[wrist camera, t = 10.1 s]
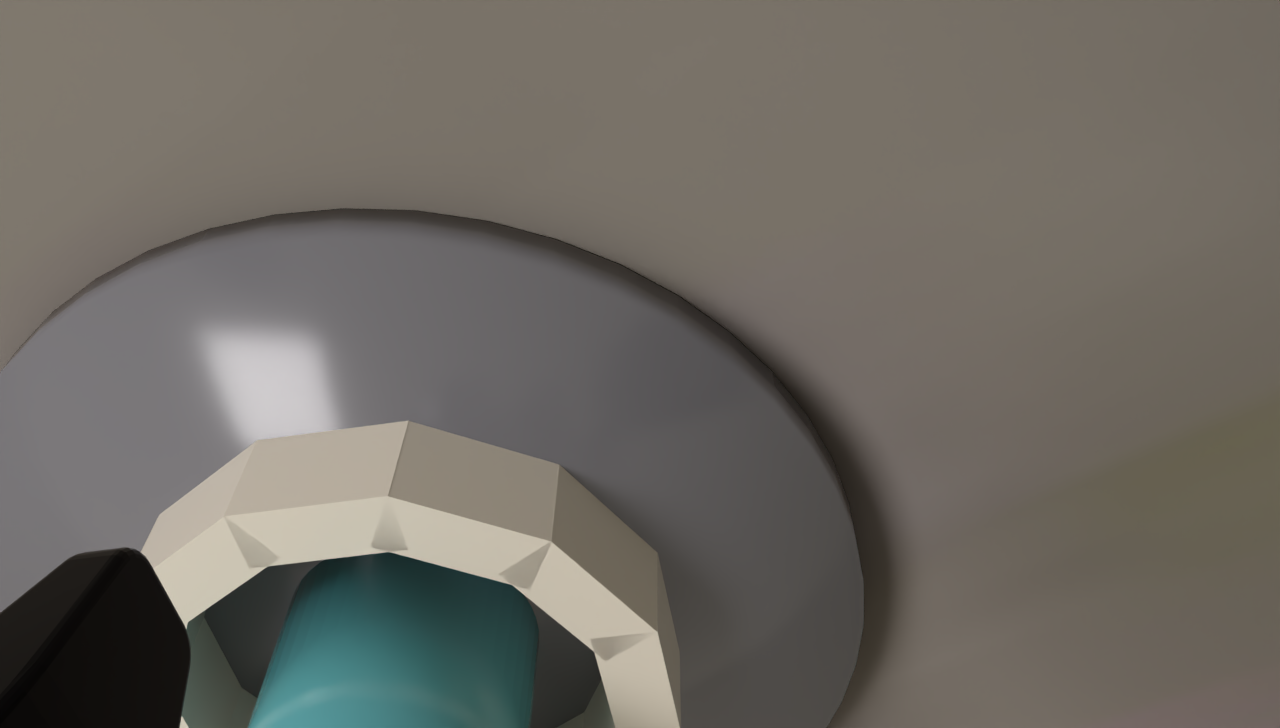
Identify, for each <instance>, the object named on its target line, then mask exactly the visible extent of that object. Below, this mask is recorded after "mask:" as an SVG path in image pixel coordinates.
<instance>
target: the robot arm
mask: <svg viewBox="0 0 1280 728" xmlns="http://www.w3.org/2000/svg"><path fill="white" fill-rule="evenodd" d="M190 664H191V647H190V640H189V636H188V633H187V630H186V628H185V625H184V623H183V621H182V620H181V618H180V616H179V614H178V612H177V611H176V609H175V607H174V605H173V603H172V602H171V600H170V598H169V596H168V594H167V593H166V591H165V589H164V587H163V585H162V583H161V582H160V580H159V578H158V576H157V574H156V573H155V571H154V569H153V567H152V565H151V564H150V562H149V561H148V559H147V558H146V556H145V555H143V554H142V553H141V552H140V551H138V550H136V549H133V548H128V547H122V548H114V549H106V550H98V551H90V552H84V553H80V554H76V555H74V556H72V557H70V558H68V559H67V560H66V561H64V562H63V563H62V564H61V565H59V566H58V567H57V568H56V569H54V570H53V571H52V572H51V573H49V574H48V575H47V576H46V577H44V578H43V579H42V580H41V581H39V582H38V583H37V584H36V585H34V586H33V587H32V588H31V589H29V590H28V591H27V592H26V593H24V594H23V595H22V596H21V597H19V598H18V599H17V600H16V601H14V602H13V603H12V604H11V605H9V606H8V607H7V608H6V609H4V610H3V611H2V612H1V613H0V728H180V723H181V717H182V711H183V705H184V700H185V694H186V688H187V683H188V677H189V671H190Z"/></svg>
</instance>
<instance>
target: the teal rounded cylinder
mask: <svg viewBox="0 0 1280 728" xmlns="http://www.w3.org/2000/svg"><path fill="white" fill-rule="evenodd" d="M538 649H539V628H538V624H537V619H536V616H535V614H534V612H533V609H532V607H531V605H530V604H529V602H528V600H527V599H526V597H525V596H524V594H522V593H521V592H520V591H519V590H518V589H516V588H515V587H514V586H513V585H510V584H507V583H503V582H499V581H496V580H492V579H488V578H484V577H481V576H477V575H473V574H469V573H466V572H462V571H458V570H455V569H451V568H447V567H443V566H440V565H436V564H432V563H428V562H425V561H421V560H417V559H414V558H410V557H406V556H402V555H399V554H395V553H391V552H385V553H376V554H368V555H359V556H351V557H342V558H334V559H326V560H323V561H321V562H320V563H319V564H317V565H316V566H315V567H314V568H312V569H311V570H310V571H309V572H308V573H307V574H306V575H305V577H304V578H303V579H302V580H301V581H300V583H299V585H298V586H297V588H296V590H295V592H294V594H293V597H292V599H291V602H290V605H289V608H288V611H287V614H286V617H285V620H284V623H283V625H282V628H281V631H280V634H279V637H278V640H277V643H276V646H275V649H274V652H273V655H272V658H271V661H270V663H269V666H268V669H267V672H266V675H265V678H264V681H263V684H262V687H261V690H260V693H259V696H258V699H257V702H256V704H255V707H254V710H253V713H252V716H251V719H250V722H249V725H248V728H530V723H531V714H532V705H533V695H534V686H535V677H536V667H537V658H538Z"/></svg>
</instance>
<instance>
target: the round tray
mask: <svg viewBox="0 0 1280 728" xmlns="http://www.w3.org/2000/svg"><path fill="white" fill-rule="evenodd" d="M122 547H128V548H133V549H136V550H138V551H140V552H141V553H142V554H143V555H145V556H146V558H147V559H148V561H149V562H150V564H151V565H152V567H153V569H154V571H155V573H156V574H157V576H158V578H159V580H160V582H161V583H162V585H163V587H164V589H165V591H166V593H167V594H168V596H169V598H170V600H171V602H172V603H173V605H174V607H175V609H176V611H177V612H178V614H179V616H180V618H181V620H182V621H183V623H184V625H185V628H186V630H187V633H188V636H189V640H190V647H191V664H190V671H189V677H188V683H187V688H186V694H185V700H184V705H183V711H182V717H181V723H180V728H248V725H249V722H250V719H251V716H252V713H253V710H254V707H255V704H256V702H257V699H258V696H259V693H260V690H261V687H262V684H263V681H264V678H265V675H266V672H267V669H268V666H269V663H270V661H271V658H272V655H273V652H274V649H275V646H276V643H277V640H278V637H279V634H280V631H281V628H282V625H283V623H284V620H285V617H286V614H287V611H288V608H289V605H290V602H291V599H292V597H293V594H294V592H295V590H296V588H297V586H298V585H299V583H300V581H301V580H302V579H303V578H304V577H305V575H306V574H307V573H308V572H309V571H310V570H311V569H312V568H314V567H315V566H316V565H317V564H319V563H320V562H321V561H323V560H326V559H334V558H342V557H351V556H359V555H368V554H376V553H385V552H391V553H395V554H399V555H402V556H406V557H410V558H414V559H417V560H421V561H425V562H428V563H432V564H436V565H440V566H443V567H447V568H451V569H455V570H458V571H462V572H466V573H469V574H473V575H477V576H481V577H484V578H488V579H492V580H496V581H499V582H503V583H507V584H510V585H513V586H514V587H515V588H516V589H518V590H519V591H520V592H521V593H522V594H524V596H525V597H526V599H527V600H528V602H529V604H530V605H531V607H532V609H533V612H534V614H535V616H536V619H537V624H538V628H539V649H538V658H537V667H536V677H535V686H534V695H533V705H532V714H531V723H530V728H827V726H828V724H829V723H830V721H831V719H832V718H833V716H834V714H835V713H836V711H837V709H838V708H839V706H840V704H841V703H842V700H843V698H844V695H845V692H846V690H847V687H848V685H849V682H850V679H851V677H852V674H853V672H854V669H855V666H856V663H857V658H858V652H859V647H860V642H861V637H862V631H863V626H864V580H863V575H862V570H861V564H860V559H859V553H858V548H857V543H856V537H855V532H854V527H853V522H852V517H851V511H850V506H849V502H848V499H847V496H846V494H845V491H844V489H843V486H842V483H841V481H840V478H839V475H838V473H837V470H836V467H835V465H834V462H833V459H832V457H831V456H830V454H829V452H828V450H827V449H826V447H825V445H824V444H823V442H822V440H821V438H820V437H819V435H818V433H817V431H816V430H815V428H814V426H813V425H812V423H811V421H810V419H809V418H808V416H807V414H806V413H805V412H804V411H803V409H802V408H801V407H800V406H799V404H798V403H797V402H796V401H795V399H794V398H793V397H792V396H791V395H790V393H789V392H788V391H787V390H786V388H785V387H784V386H783V385H782V383H781V382H780V381H779V380H778V378H777V377H776V376H775V375H774V373H773V372H772V371H771V370H770V369H768V368H767V367H766V366H765V365H764V364H763V363H762V362H761V361H760V360H759V359H758V358H757V357H756V356H754V355H753V354H752V353H751V352H750V351H749V350H748V349H747V348H746V347H745V346H744V345H743V344H742V343H740V342H739V341H738V340H737V339H736V338H735V337H734V336H733V335H732V334H731V333H730V332H728V331H727V330H726V329H724V328H723V327H721V326H720V325H719V324H717V323H716V322H714V321H713V320H711V319H710V318H709V317H707V316H706V315H704V314H703V313H702V312H700V311H699V310H697V309H696V308H695V307H693V306H692V305H690V304H689V303H687V302H686V301H685V300H683V299H682V298H680V297H679V296H677V295H676V294H674V293H672V292H670V291H668V290H666V289H664V288H662V287H661V286H659V285H657V284H655V283H653V282H651V281H649V280H648V279H646V278H644V277H642V276H640V275H638V274H636V273H634V272H633V271H631V270H629V269H627V268H625V267H623V266H621V265H620V264H617V263H614V262H612V261H609V260H607V259H604V258H602V257H599V256H597V255H594V254H591V253H589V252H586V251H584V250H581V249H579V248H576V247H574V246H571V245H568V244H566V243H563V242H561V241H558V240H556V239H552V238H548V237H545V236H541V235H537V234H533V233H530V232H526V231H522V230H518V229H514V228H511V227H507V226H503V225H499V224H495V223H492V222H488V221H482V220H476V219H469V218H462V217H455V216H448V215H441V214H434V213H428V212H421V211H410V210H376V209H332V210H321V211H310V212H299V213H287V214H276V215H270V216H266V217H261V218H256V219H252V220H247V221H243V222H238V223H233V224H229V225H224V226H220V227H215V228H210V229H207V230H204V231H201V232H199V233H196V234H193V235H190V236H187V237H185V238H182V239H179V240H176V241H174V242H171V243H168V244H165V245H163V246H160V247H157V248H154V249H152V250H149V251H147V252H145V253H143V254H141V255H139V256H138V257H136V258H134V259H132V260H130V261H128V262H126V263H125V264H123V265H121V266H119V267H117V268H115V269H113V270H112V271H110V272H108V273H106V274H104V275H102V276H100V277H98V278H97V279H95V280H94V281H93V282H91V283H90V284H89V285H87V286H86V287H85V288H83V289H82V290H81V291H79V292H78V293H77V294H76V295H74V296H73V297H72V298H70V299H69V300H68V301H66V302H65V303H64V304H62V305H61V306H60V307H58V308H57V309H56V310H55V311H53V312H52V313H51V314H50V315H49V316H48V317H47V319H46V320H45V321H44V322H43V323H42V324H41V325H40V326H39V327H38V328H37V329H36V330H35V332H34V333H33V334H32V335H31V336H30V337H29V338H28V339H27V340H26V341H25V342H24V343H23V344H22V346H21V347H20V348H19V349H18V350H17V351H16V352H15V354H14V355H13V356H12V358H11V359H10V360H9V362H8V363H7V364H6V366H5V367H4V368H3V369H2V371H1V372H0V613H1V612H2V611H3V610H4V609H6V608H7V607H8V606H9V605H11V604H12V603H13V602H14V601H16V600H17V599H18V598H19V597H21V596H22V595H23V594H24V593H26V592H27V591H28V590H29V589H31V588H32V587H33V586H34V585H36V584H37V583H38V582H39V581H41V580H42V579H43V578H44V577H46V576H47V575H48V574H49V573H51V572H52V571H53V570H54V569H56V568H57V567H58V566H59V565H61V564H62V563H63V562H64V561H66V560H67V559H68V558H70V557H72V556H74V555H76V554H80V553H84V552H90V551H98V550H106V549H114V548H122Z"/></svg>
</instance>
